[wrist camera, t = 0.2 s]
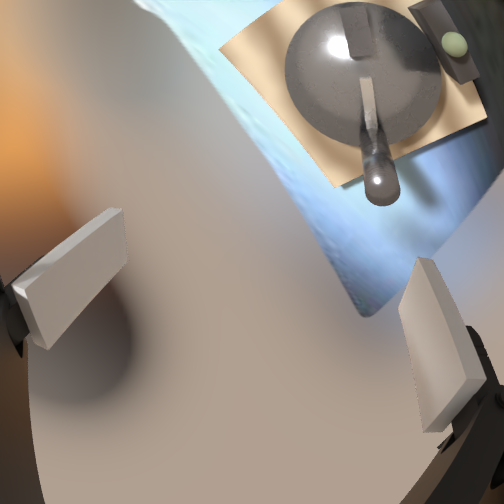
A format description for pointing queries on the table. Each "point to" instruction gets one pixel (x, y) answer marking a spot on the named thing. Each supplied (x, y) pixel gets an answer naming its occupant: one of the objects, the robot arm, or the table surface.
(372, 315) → the table surface
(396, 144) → the level stand
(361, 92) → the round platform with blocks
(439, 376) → the robot arm
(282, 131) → the table surface
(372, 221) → the table surface
